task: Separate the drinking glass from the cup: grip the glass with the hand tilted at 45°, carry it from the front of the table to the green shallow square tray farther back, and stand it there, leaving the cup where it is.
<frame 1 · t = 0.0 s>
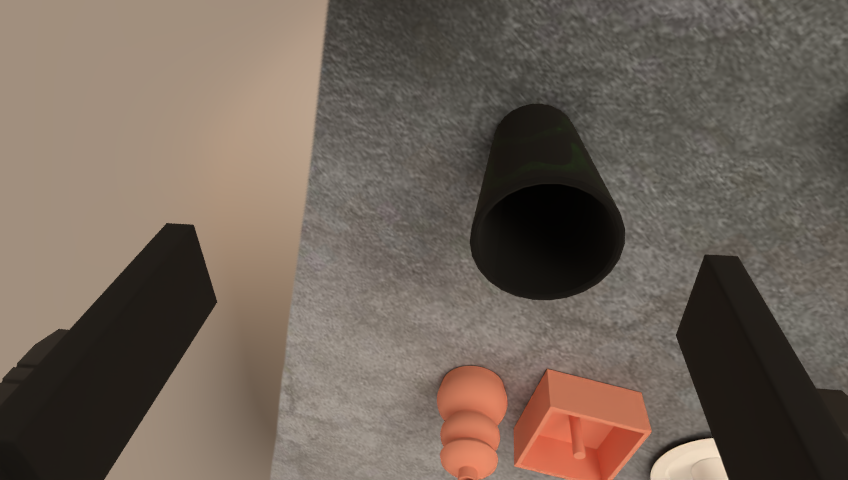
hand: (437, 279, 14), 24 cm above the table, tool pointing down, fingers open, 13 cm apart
candle holder: (710, 466, 55), on the table
cup: (534, 141, 37), on the table
pottery: (530, 398, 53), on the table
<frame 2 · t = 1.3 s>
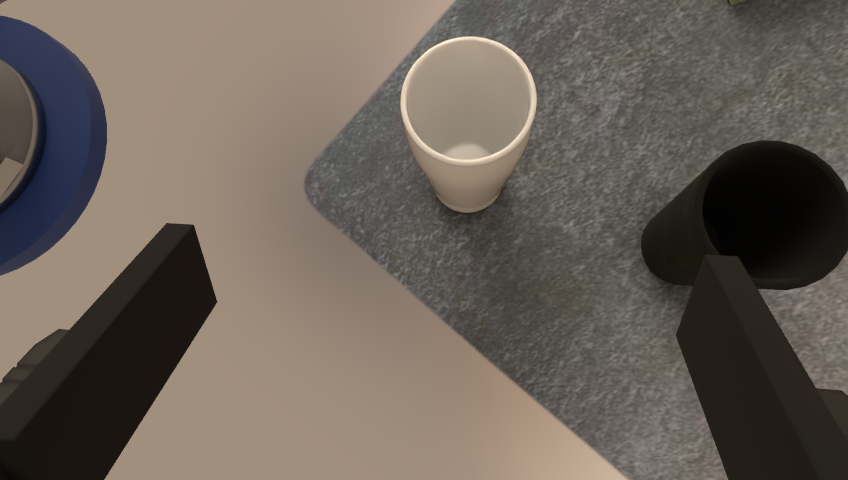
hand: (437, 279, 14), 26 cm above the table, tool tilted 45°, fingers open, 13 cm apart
drinking glass: (467, 180, 41), on the table
cup: (679, 247, 39), on the table
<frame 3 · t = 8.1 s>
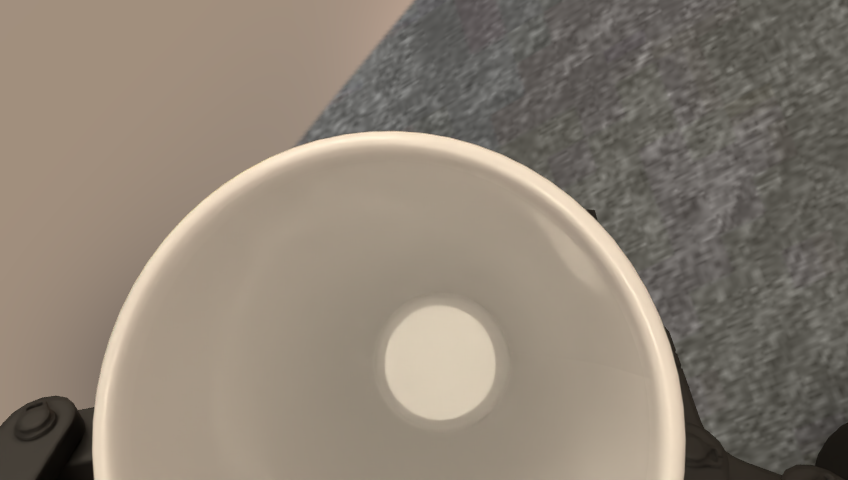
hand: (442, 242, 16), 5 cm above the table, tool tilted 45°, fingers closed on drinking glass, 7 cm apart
drinking glass: (444, 358, 21), on the table, touching gripper
when the fingers open (6 cm above the table, at t = 19.5 s): drinking glass stays where it is, resting on green shallow square tray.
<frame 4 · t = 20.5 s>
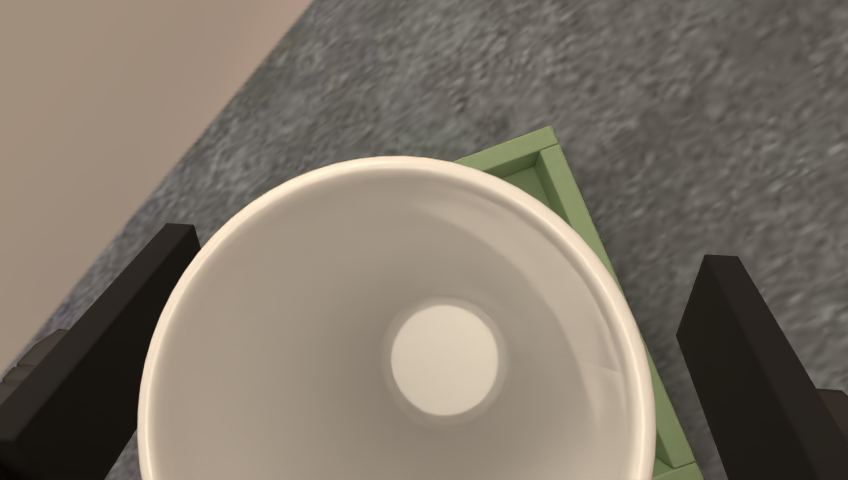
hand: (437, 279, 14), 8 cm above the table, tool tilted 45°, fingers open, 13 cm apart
drinking glass: (446, 358, 22), resting on green shallow square tray
green shallow square tray: (447, 355, 22), on the table
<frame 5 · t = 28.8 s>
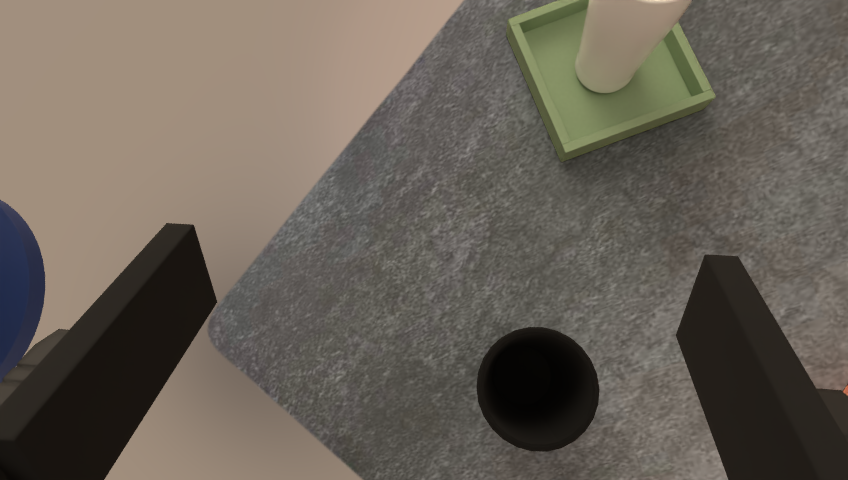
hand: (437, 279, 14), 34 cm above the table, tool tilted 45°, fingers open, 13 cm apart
drinking glass: (602, 69, 50), resting on green shallow square tray
cup: (520, 374, 46), on the table
green shallow square tray: (601, 71, 50), on the table
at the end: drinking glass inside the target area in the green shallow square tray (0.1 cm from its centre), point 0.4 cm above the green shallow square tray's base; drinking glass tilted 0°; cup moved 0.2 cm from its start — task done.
